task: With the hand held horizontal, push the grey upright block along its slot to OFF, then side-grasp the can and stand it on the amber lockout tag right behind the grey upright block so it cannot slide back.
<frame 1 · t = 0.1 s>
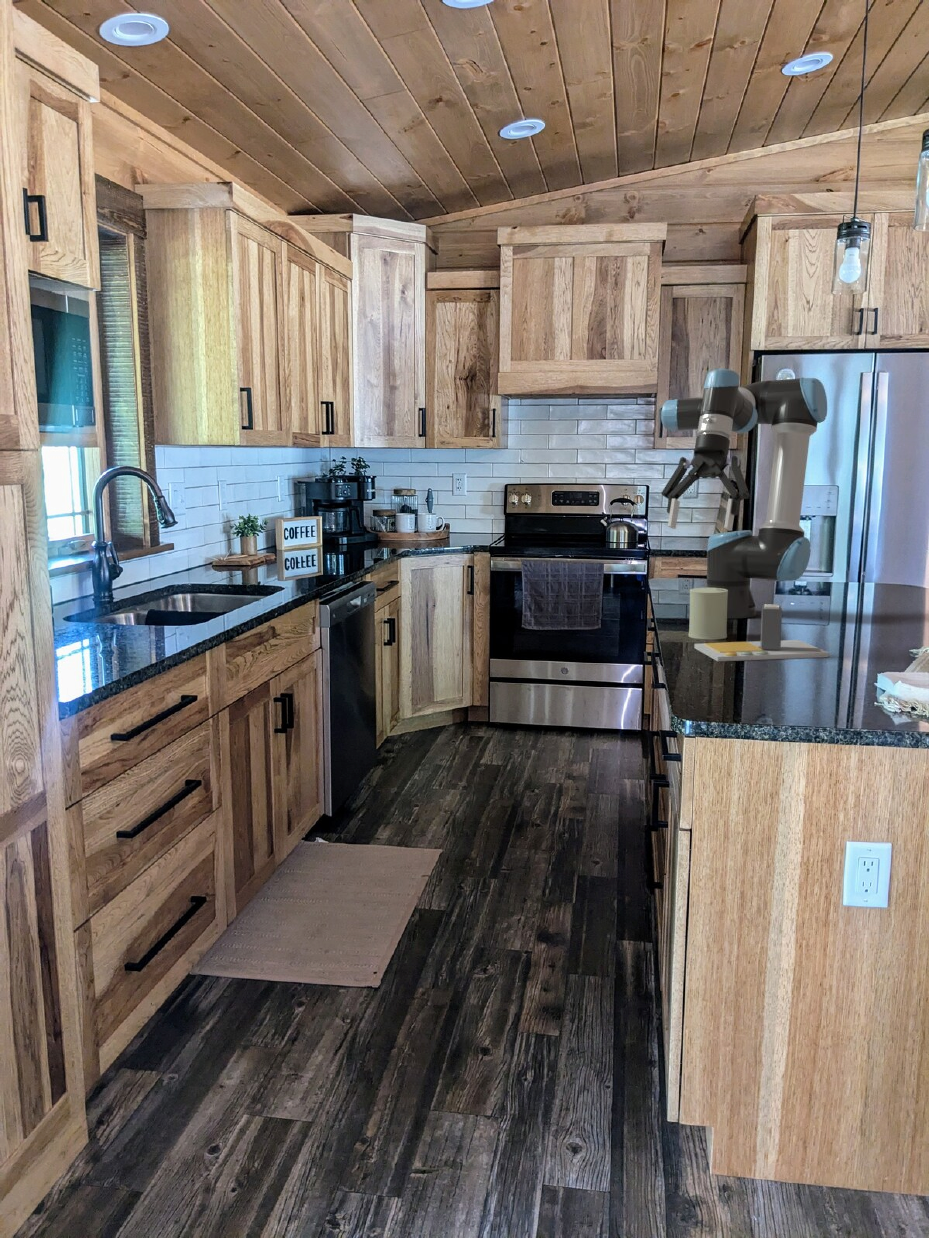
hand: (699, 528, 213), 28 cm above the countertop, tool tilted 20°, fingers open, 13 cm apart
grey upright block: (771, 626, 211), point 6 cm above the countertop, slide at 0.0 cm
can: (707, 637, 233), on the countertop
panel: (759, 652, 213), on the countertop
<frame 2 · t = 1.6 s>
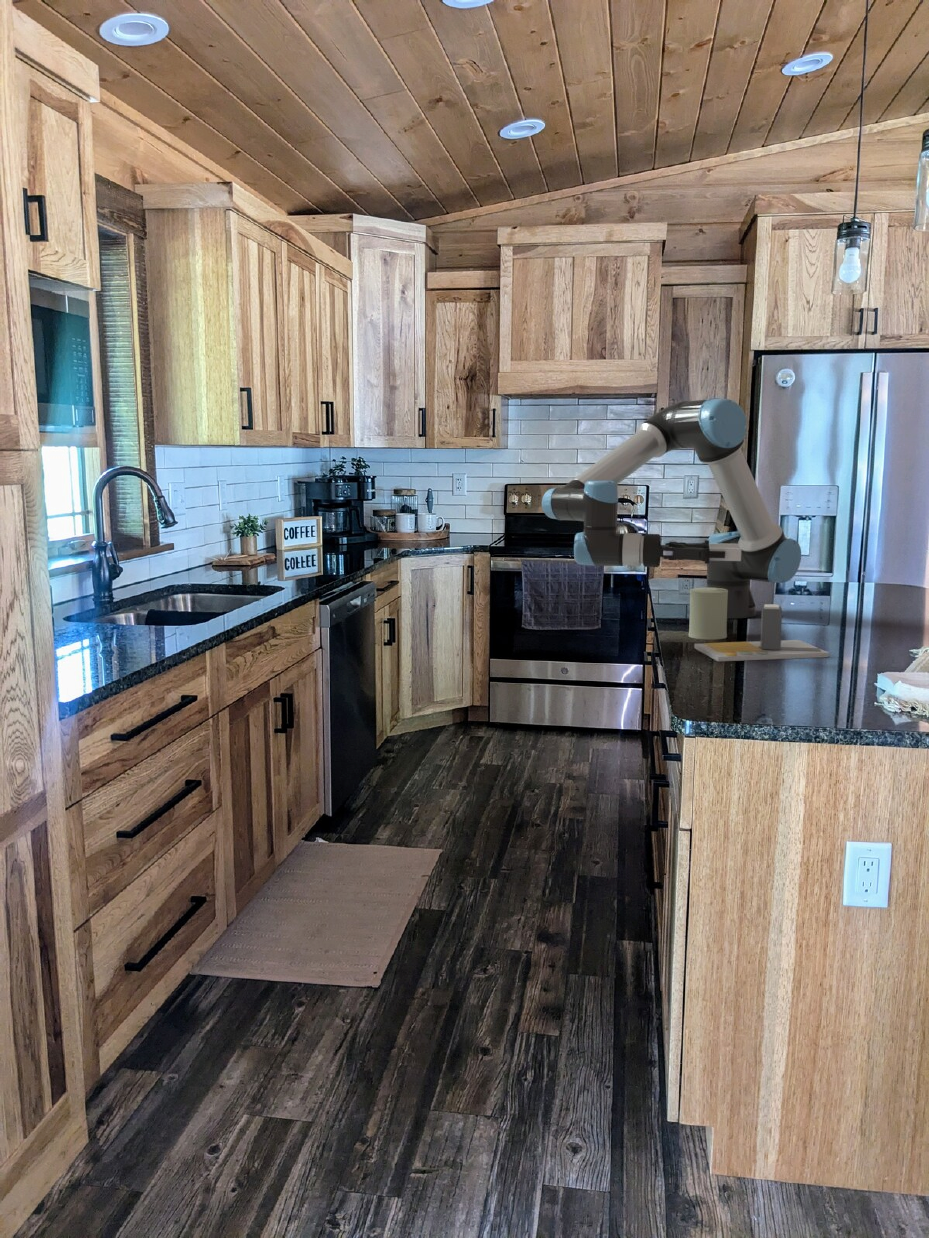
hand: (739, 552, 210), 23 cm above the countertop, tool horizontal, fingers open, 13 cm apart
nothing on the countertop moved.
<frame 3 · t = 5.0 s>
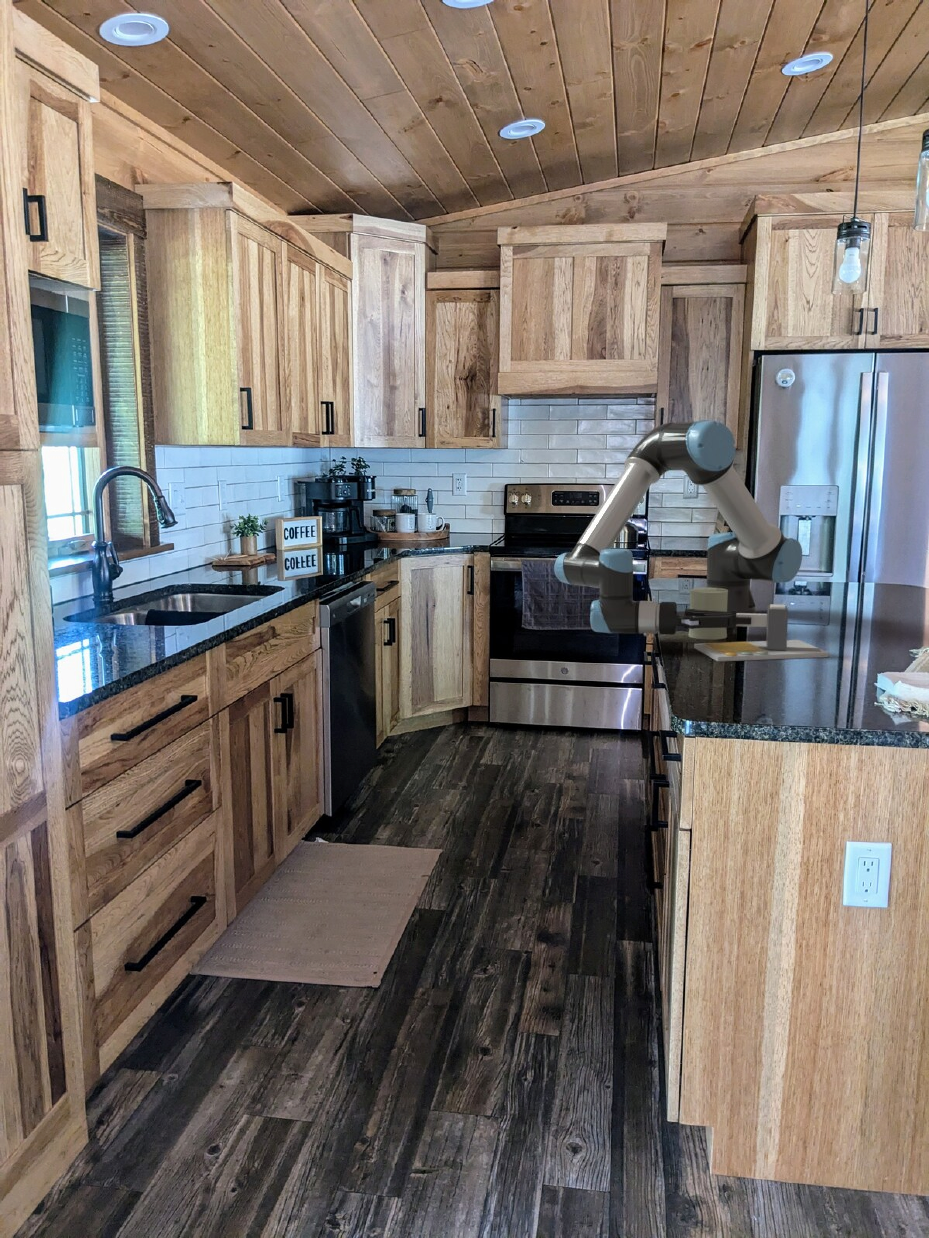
hand: (766, 620, 211), 7 cm above the countertop, tool horizontal, fingers closed
grey upright block: (777, 626, 211), point 6 cm above the countertop, slide at 1.3 cm, touching gripper
everything else where it was.
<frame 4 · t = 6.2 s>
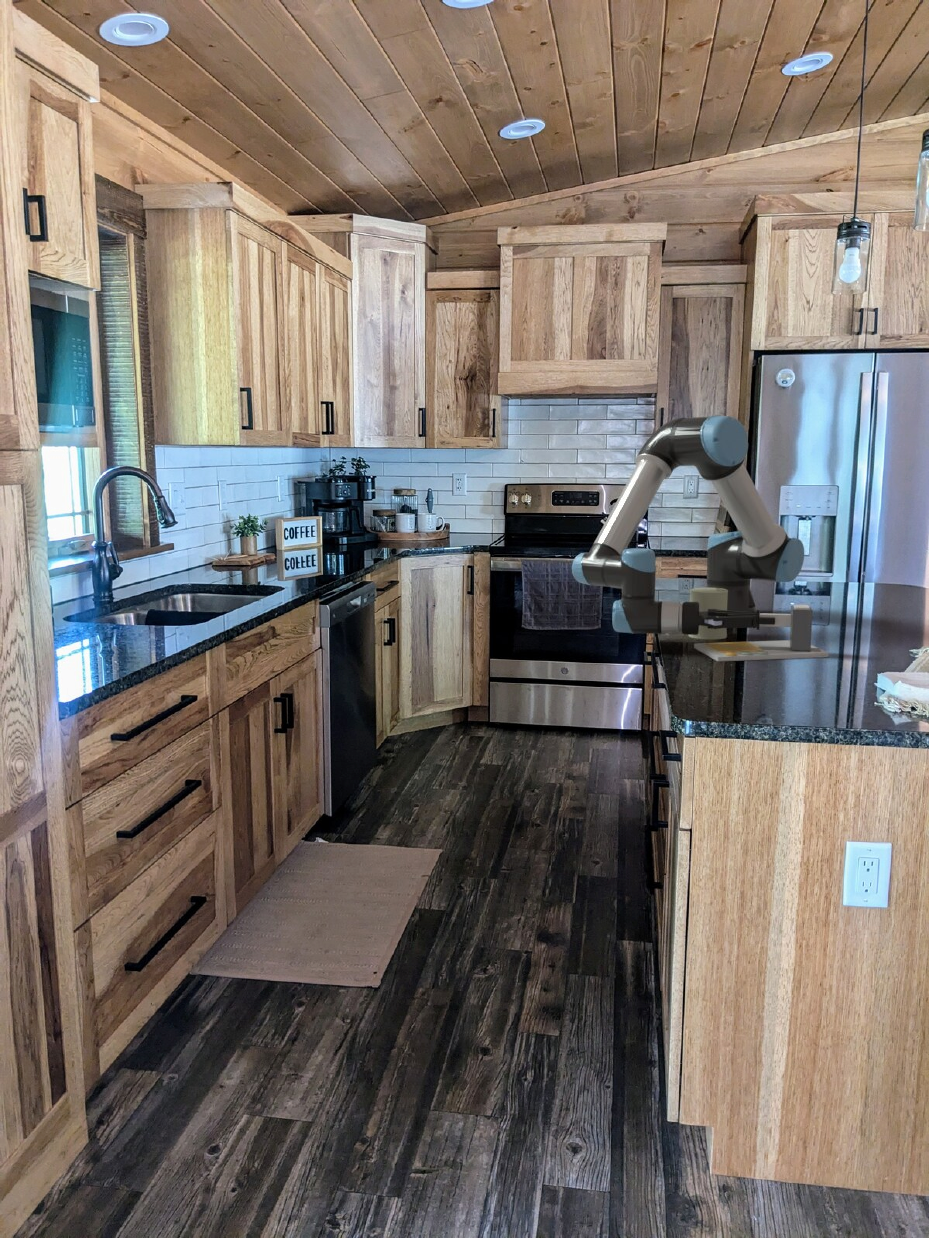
hand: (790, 620, 210), 7 cm above the countertop, tool horizontal, fingers closed
grey upright block: (800, 627, 209), point 6 cm above the countertop, slide at 6.3 cm, touching gripper
everything else where it was.
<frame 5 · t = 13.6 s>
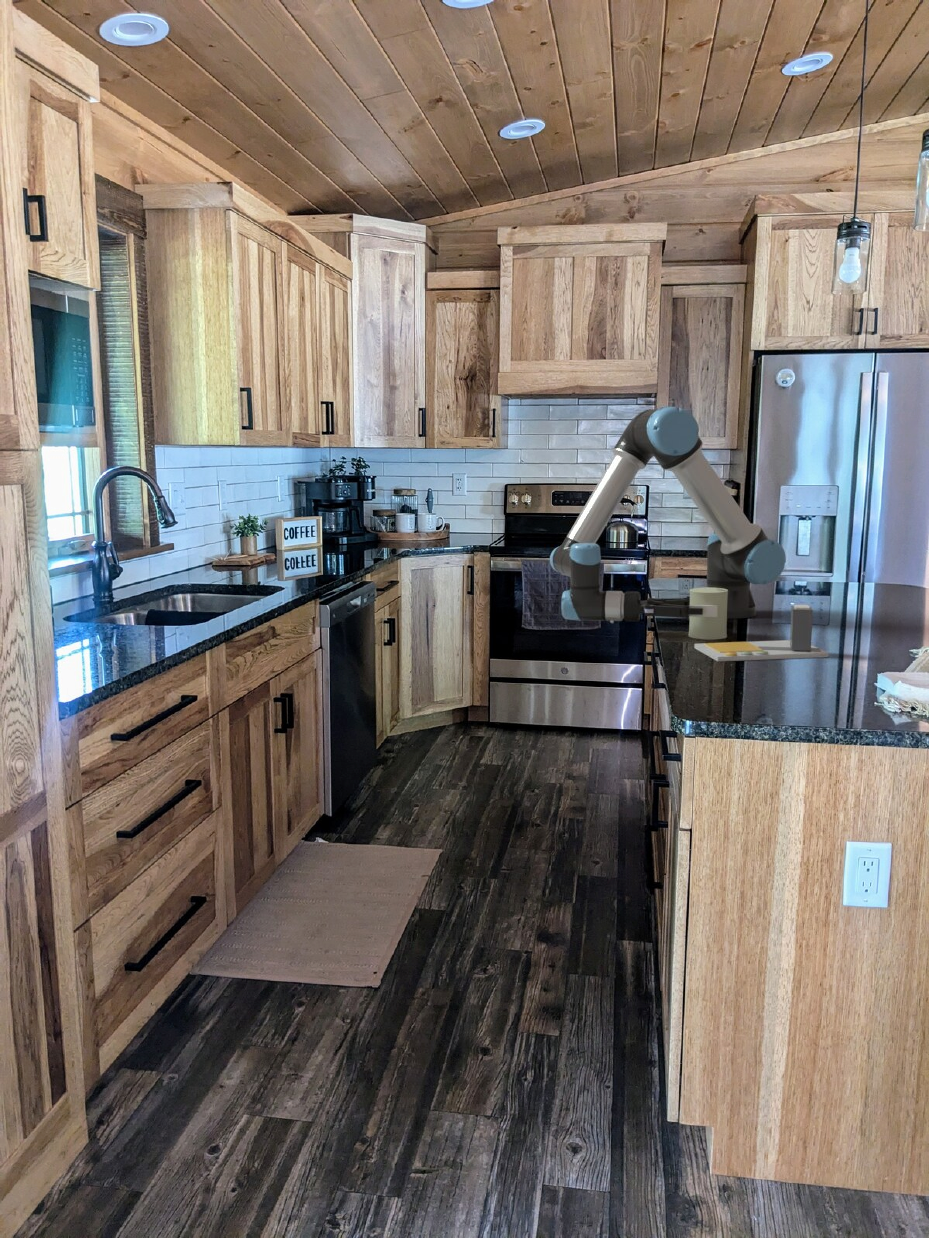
hand: (717, 608, 231), 7 cm above the countertop, tool horizontal, fingers closed on can, 9 cm apart
grey upright block: (801, 627, 209), point 6 cm above the countertop, slide at 6.3 cm
can: (707, 637, 233), on the countertop, touching gripper
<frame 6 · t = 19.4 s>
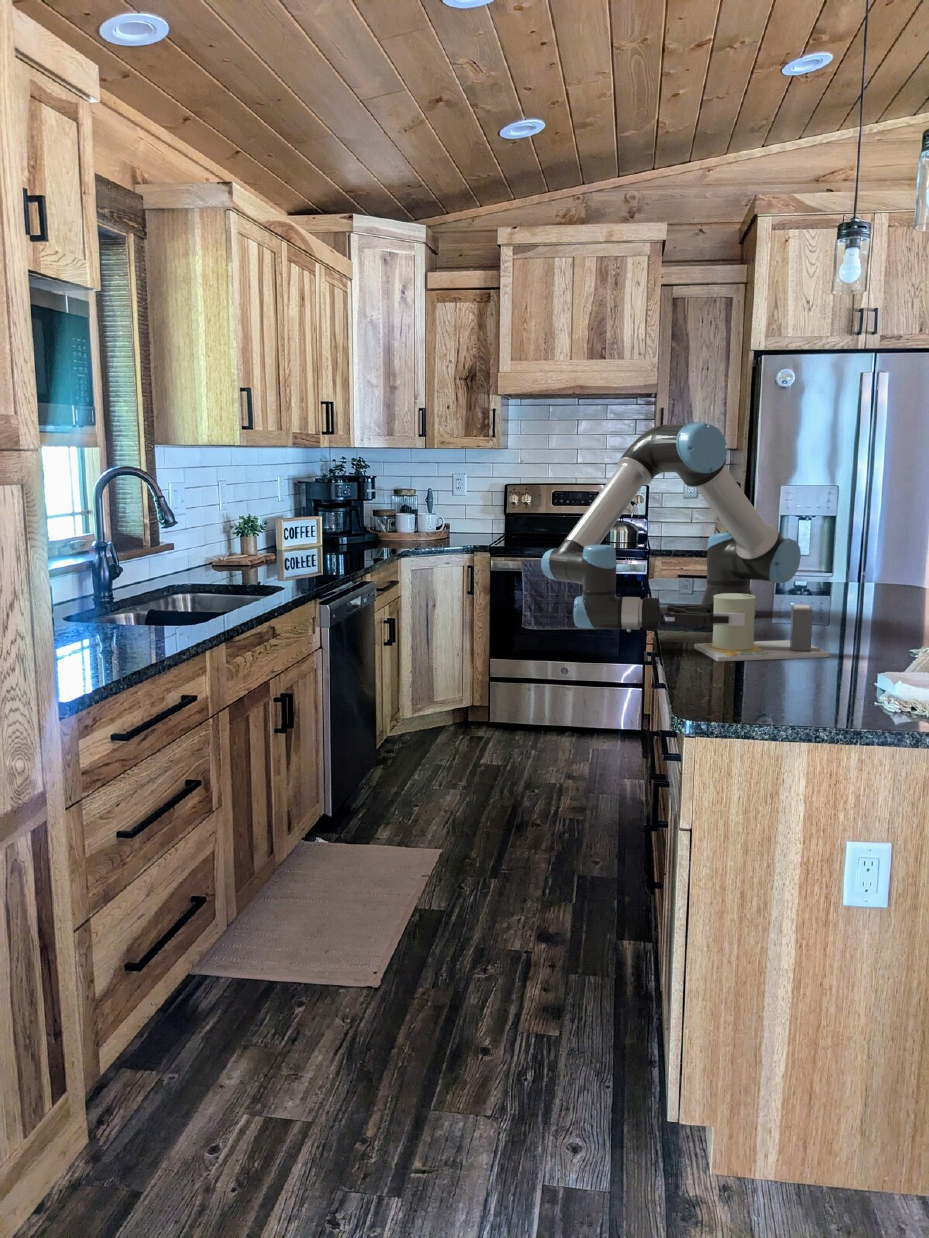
hand: (743, 616, 212), 8 cm above the countertop, tool horizontal, fingers closed on can, 9 cm apart
can: (732, 647, 214), point 1 cm above the countertop, touching gripper
everything else where it was.
when the fingers open (8 cm above the countertop, at t = 19.4 s): can moves 3 cm, resting on panel.
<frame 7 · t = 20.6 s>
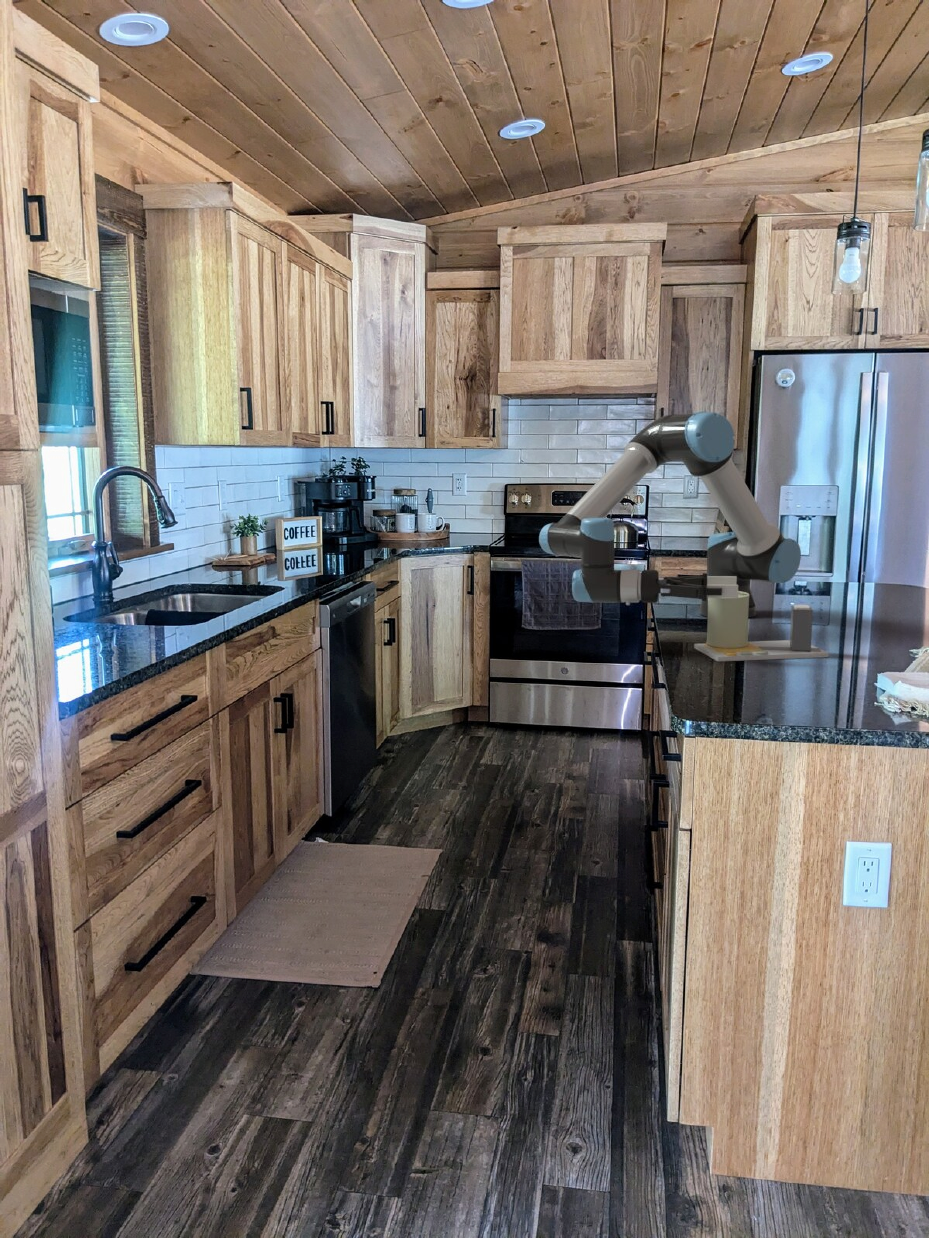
hand: (737, 586, 211), 15 cm above the countertop, tool horizontal, fingers open, 13 cm apart
can: (727, 644, 216), point 1 cm above the countertop, touching panel
everything else where it was.
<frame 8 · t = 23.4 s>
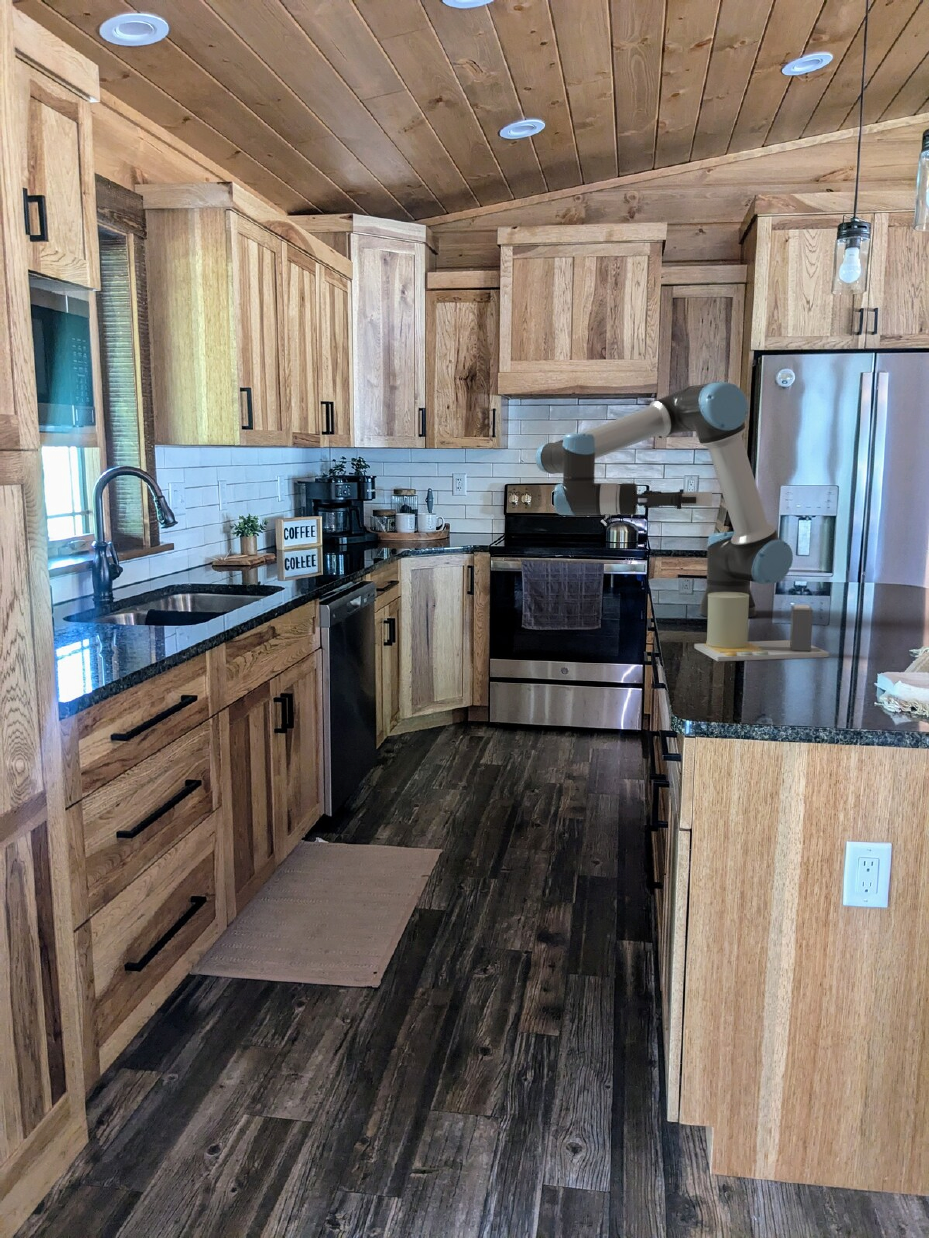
hand: (711, 498, 220), 34 cm above the countertop, tool horizontal, fingers open, 13 cm apart
nothing on the countertop moved.
at the end: grey upright block slide at 6.3 cm; can inside the target area (2.8 cm from its centre), point 1.0 cm above the countertop; can tilted 0° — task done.
